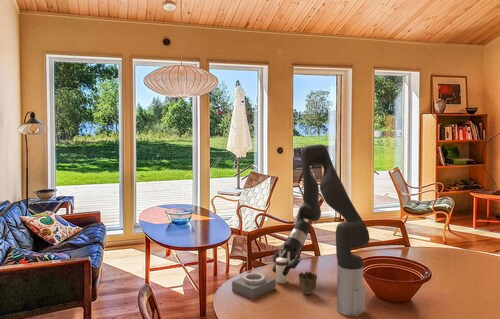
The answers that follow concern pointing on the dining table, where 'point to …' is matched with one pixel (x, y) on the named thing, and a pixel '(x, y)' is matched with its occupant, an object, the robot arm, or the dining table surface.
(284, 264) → the domed cylinder with band
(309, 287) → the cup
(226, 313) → the dining table surface
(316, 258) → the dining table surface
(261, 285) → the square base with ring
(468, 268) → the dining table surface
